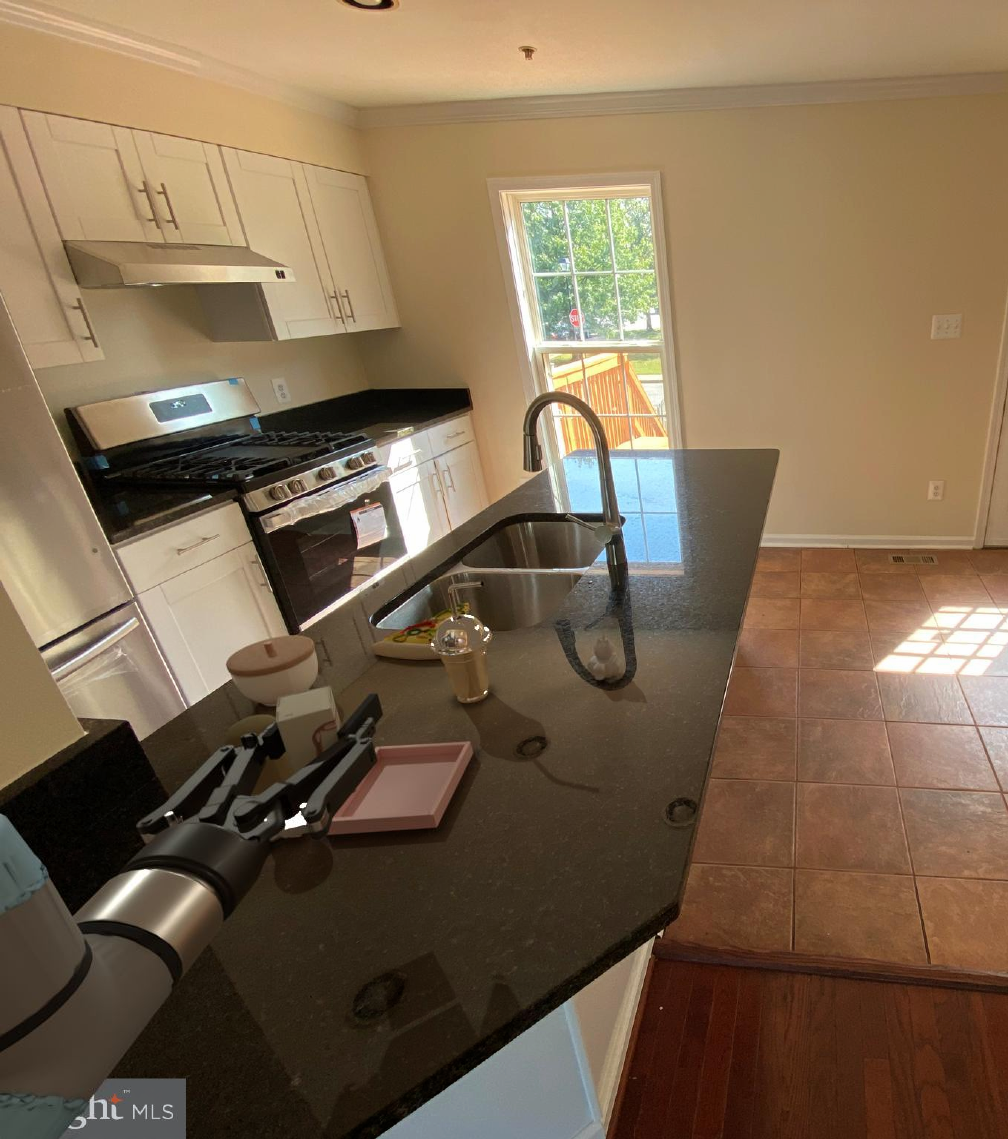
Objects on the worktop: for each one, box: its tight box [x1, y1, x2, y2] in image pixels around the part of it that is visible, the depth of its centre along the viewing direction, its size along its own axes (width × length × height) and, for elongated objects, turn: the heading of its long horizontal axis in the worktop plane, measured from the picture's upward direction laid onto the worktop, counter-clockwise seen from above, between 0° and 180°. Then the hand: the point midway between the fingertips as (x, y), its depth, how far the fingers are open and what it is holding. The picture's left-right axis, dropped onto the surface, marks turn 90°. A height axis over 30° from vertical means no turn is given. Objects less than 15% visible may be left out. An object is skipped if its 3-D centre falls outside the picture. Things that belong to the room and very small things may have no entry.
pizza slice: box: [371, 602, 470, 661], centre depth 114 cm, size 16×21×3 cm
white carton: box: [275, 684, 356, 793], centre depth 60 cm, size 5×4×10 cm
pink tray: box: [326, 741, 474, 836], centre depth 77 cm, size 12×13×2 cm
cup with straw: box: [431, 580, 493, 704], centre depth 92 cm, size 8×9×20 cm
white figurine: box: [587, 632, 623, 681], centre depth 100 cm, size 5×7×8 cm
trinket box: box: [225, 634, 319, 707], centre depth 94 cm, size 11×11×9 cm
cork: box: [225, 714, 294, 796], centre depth 73 cm, size 6×6×11 cm
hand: (343, 706), depth 64 cm, fingers closed on white carton, 6 cm apart
